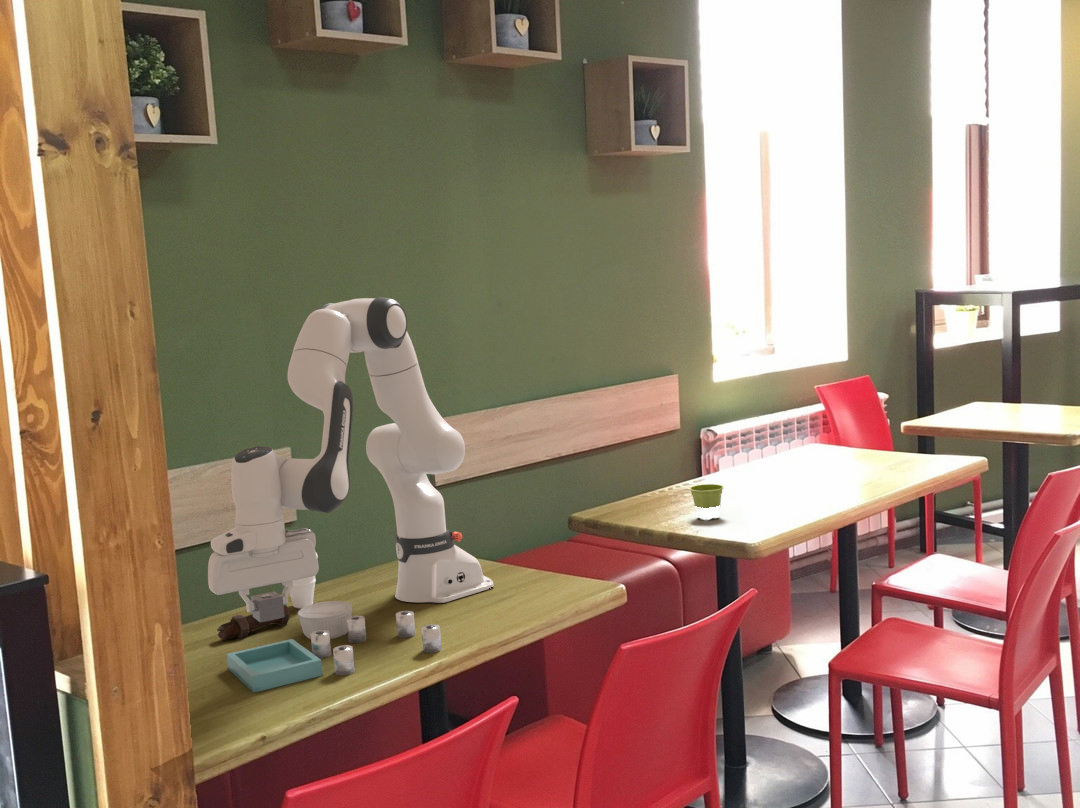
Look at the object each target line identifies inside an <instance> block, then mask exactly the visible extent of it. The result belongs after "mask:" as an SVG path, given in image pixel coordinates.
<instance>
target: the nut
mask: <svg viewBox="0 0 1080 808" xmlns="http://www.w3.org/2000/svg"><path fill="white" fill-rule="evenodd" d="M281 595H282V594H281V593H278V592H277V591H275V590H274V591H270V592H265V593H259V594H255V595H254V594H253V595H250V601H253V600H254V602H256V608H257V611H255V612H251V614H253V617H254V618H255V619H256V620H258V621H259V622H265V621H270V620H274V619H279V618H284V617H285V616H284V605H283V596H281Z"/></svg>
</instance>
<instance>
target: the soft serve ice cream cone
mask: <svg viewBox="0 0 1080 808" xmlns="http://www.w3.org/2000/svg"><path fill="white" fill-rule="evenodd" d="M316 555H317V560H318V557H319V556H318V553H317V552H316ZM316 582H317V580H316V576H312V577H307V578H302V579H297V580H292V583H293V587H292V589H291V591H290V593H289V596H290V599H291V602H292V606H293V608H296V609H302V608H303V607H305V606H308V605H311V604H314V594H315V585H316Z"/></svg>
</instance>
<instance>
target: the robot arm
mask: <svg viewBox="0 0 1080 808" xmlns="http://www.w3.org/2000/svg"><path fill="white" fill-rule="evenodd" d="M362 352H364V359H365V365H366V368H367V372H368V375H369V380H370V384H371V386H372V392H373V394H374V397H375V402H376V405H377V406H378V408H379V410H381V411H382V412H383V413H384V414H386V415H387V417H389V418H391V420H392V421H393V422H392V423H387V424H384V425H380V426H377V427H375V428H373V429H372V430H371V432H370V433H369V434H368V436H367V437H366V438H367V439H366V443H365V452H366V456H367V458H368V460H369V462H370V463H371V464H372V465H373V466H374V467H375V468H376V469H377V471H379V473H380V474H381V475H382V477H383V479H384V481H385V483H386V486H387V487H388V490H389V492H390V495H391V497H392V501H393V506H394V516H395V523H396V535H395V551H396V552H395V553H396V556H397V557H396V558H397V561H398V571H397V572H398V573H397V583H396V590H395V595H394V598H395V599H397V600H399V601H402V602H408V603H438V604H441V603H443V604H444V603H448V602H451V601H454V600H457V599H460V598H464V597H467V596H471V595H474V594H476V593H481V592H482V591H487V590H490V589H492V588H491V587H493V586H495V585H494V581H493V580H492V579H491V578H490V577H489V576H485V575H484V574H483V570H482V566H481V564H480V562H479V560H478V559H477V558H476V557H475V556H473V555H472V554H470V553H468V552H467V551H465V549H462V548H460V547H459V546H458V545H456V544H455V542H461V541H462V539H463V536H464V535H463V534H462V532H459V531H452V530H449V529H447V524H446V523H447V522H446V510H445V501H444V497H443V495H442V494H441V492H440V491H438V489H436V488H435V487H434V486H433V485H432V483H431V482H430V480H429V477H428V476H427V475H441V474H448V473H451V472H454V471H457V469H459V467H461V465H462V464H463V461H464V459H465V454H466V443H465V441H464V437H463V435H462V434H461V432H459V430H456V429H455V428H454V427H452V426H451V425H450V424H449V423H448V422H447V421H446V420H445V419H444V418H443V417H442V415H441V414H440V413H439V410H437V408H436V407H435V405H434V403H433V402H432V399H431V398H430V395H429V394H428V391H427V388H426V386H425V382H424V378H423V375H422V371H421V369H420V364H419V361H418V356H417V352H416V350H415V347H414V345H413V342H412V339H411V338H410V335H409V333H408V318H407V314H406V312H405V309H404V308H403V307H402V305H401V304H400V303H399V302H398V301H397V300H395V299H393V298H391V297H390V298H389V297H378V296H377V297H376V298H371V297H370V298H369V297H365V298H362V297H361V298H353V299H349V300H344V301H339V302H336V303H331V302H328V303H326V304H323V305H321V306H319V307H317V308H316V309H315V310H314V311H313V312H310V314H309V315H307V318H306V320H305V321H304V323H303V324H302V327H301V329H300V332H299V333H298V336H297V338H296V341H295V344H294V346H293V350H292V353H291V357H290V360H289V364H288V368H287V382H288V385H289V388H290V390H291V391H292V393H294V394H295V396H296V397H298V398H299V400H301V401H302V402H305V404H307V405H308V406H309V405H310V406H312V407H314V408H316V409H317V410H320V411H322V412H323V417H324V418H323V429H322V438H321V447H320V448H321V449H320V453H319V454H317V456H315V457H314V458H293V457H291V458H290V457H289V458H288V457H287V456H286V457H285V456H283V455H280V454H277V453H276V452H275V450H274V449H273V448H272V447H270V446H265V445H263V446H262V445H259V446H258V445H257V446H253V447H249V448H245V449H243V450H240V451H238V452H237V453H236V454H235V455H234V456H233V459H232V462H231V473H230V474H231V475H230V478H231V479H230V481H231V497H232V498H231V499H232V501H233V504H234V507H235V517H234V527H233V528H231V529H229V530H228V531H225V532H224V533H221V534H220V535H218V536H215V537H213V538H212V539H211V540H210V548H211V550H212V551H213V552H212V553H211V554H210V557H209V559H208V564H207V565H208V566H207V583H208V588H209V590H210V591H211V592H212V593H214V594H215V595H216V596H221V595H226V594H231V593H236V592H238V595H239V596H240V598H242V600H243V601H244V602H245V606H246V607H245V608H246V612H247V613H249V614H250V613H252V612H255V611H257V608H256V602H254V600H253V601H251V599H250V598H249V595H250V589H257V588H262V587H266V586H271V585H276V584H280V583H281V585H282V586H283V589H282V591H281V594H280V595H281V596H283V605H286V606H288V605H289V596H290V591H291V589H292V587H293V583H292V580H297V579H302V578H307V577H312V576H315V577H316V576H317V574H318V572H319V571H320V568H319V567H320V566H319V560H318V559H317V555H318V554H317V555H316V553H317V552H316V549H315V548H316V546H317V545H316V544H317V540H316V534H315V532H314V531H313V530H311V529H308V528H307V527H302V528H299V529H291V530H289V529H288V530H286V529H285V528H286V527H285V526H286V525H285V520H284V519H285V516H284V513H283V511H282V509H289V510H304V511H307V510H308V511H311V512H312V511H313V512H319V513H326V514H327V513H332V512H334V511H336V510H337V509H338V508H339V507H341V505H342V504H344V502H345V500H346V498H347V497H348V495H349V491H350V484H351V483H350V481H351V479H350V469H349V468H350V467H349V465H350V464H349V462H350V451H351V442H352V441H351V440H352V429H353V420H354V419H353V418H354V417H353V416H354V398H353V397H354V396H353V393H352V390H351V388H350V386H349V385H348V384H346V372H347V369H348V368H347V367H348V363H349V358H350V354H353V353H354V354H355V353H362ZM489 588H490V589H489ZM493 588H494V587H493Z"/></svg>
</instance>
